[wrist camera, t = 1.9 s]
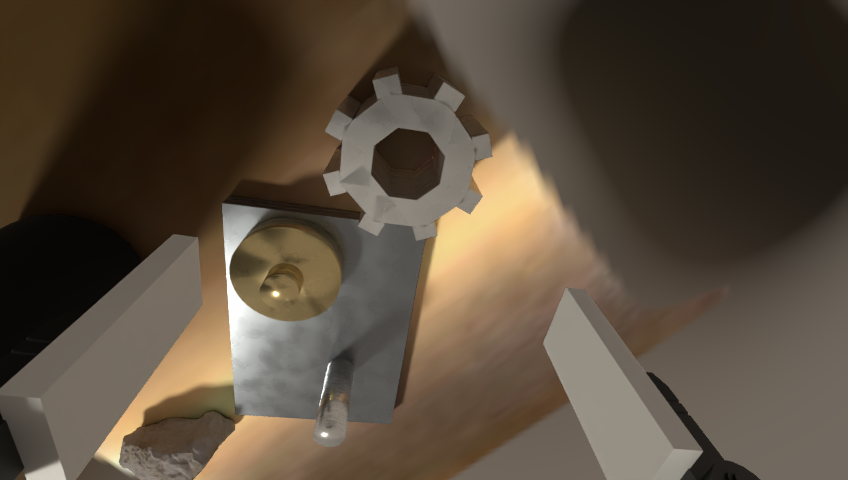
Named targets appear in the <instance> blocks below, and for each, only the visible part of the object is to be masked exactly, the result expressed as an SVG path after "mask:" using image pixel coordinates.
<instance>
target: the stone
mask: <svg viewBox="0 0 848 480" xmlns="http://www.w3.org/2000/svg"><path fill="white" fill-rule="evenodd" d="M234 430H235V424H234V422H233V421H232V420H231V419H226V418H224V417H223V416H221V414H219V413H217V412H215V411H210V412H206V413H205V414H204V415H203V416H202V417H201V418H199V419H186V418H168V419H164V420H163V421H161V422H160V423H158V424H152V425H149V426H146V427H143V426H142V427H139V428H137V429H136V430H135V431H134V432H133V433H131V434H128V435H125V436H124V438H123V443H122V447H121V453H120V460H119V463H120V465H121V466H122V468H128V469H129V470H131V471H132V472H133V473H134V474H135V476H137V477H138V478H141V479H143V480H193V479H194V478H195V477H196V476H197V475H198V474H199V473H200V472H201V471H202V469H203V468H204V467H205V466H206V464H207V463H208V462H209V460H210V459H211V458H212V456H213V454H214V453H215V451H216V450H217V449H218V446H219V445H220V444H221V443H222V442H223V441H225V439H226V438H227V437H228V436H229V435H230V434H231V433H232V432H233V431H234Z"/></svg>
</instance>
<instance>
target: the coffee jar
mask: <svg viewBox="0 0 848 480" xmlns="http://www.w3.org/2000/svg"><path fill="white" fill-rule="evenodd" d="M140 263H142V260H141V258H140V257H139V256H138V255H137V253H136V252H135V251H134V249H133V248H132V247H131V246H130V244H129V243H127V242H126V241H125V240H123V239H122V238H121V237H120V236H118V235H117V234H116V233H114V232H113V231H112V230H110V229H107V228H105V227H103V226H101V225H99V224H97V223H95V222H92V221H89V220H84V219H80V218H75V217H71V216H64V215H41V216H29V217H27V218H24V219H22V220H19V221H16V222H14V223H11V224H9V225H7V226H5V227H3V228H1V229H0V359H1V358H2V357H4V356H5V355H6V354H10V353H11V350H12V349H13V348H15V347H16V346H17V345H18V344H20V343H21V342H22V341H26V338H27V337H28V336H29V335H31V334H32V333H33V332H34V331H35V330H37V329H38V328H39V327H40V326H42V325H43V324H44V323H46V322H48V321H50V320H52V319H54V318H56V317H58V316H60V315H62V314H64V313H66V312H68V311H71V312H81V313H85V312H87V311H88V310H89V309H90V308H91V307H92V306H93V305H94V304H96V303H97V302H98V301H99V300H100V299H101V298H102V297H103V296H105V295H106V294H107V293H108V292H109V291H110V290H111V289H112V288H114V287H115V286H116V285H117V284H118V283H119V282H120V281H121V280H123V279H124V278H125V277H126V276H127V275H128V274H129V273H130V272H132V271H133V270H134V269H135V268H136V267H137V266H138V265H139V264H140Z"/></svg>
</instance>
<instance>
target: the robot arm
mask: <svg viewBox="0 0 848 480" xmlns="http://www.w3.org/2000/svg"><path fill="white" fill-rule="evenodd" d="M201 306H202V289H201V274H200V259H199V243H198V237H191V236H184V235H177V234H173V235H172V236H171V237H170V238H169V239H167V240H166V241H165V242H164V243H163V244H162V245H161V246H160V247H158V248H157V249H156V250H155V251H154V252H153V253H152V254H151V255H149V256H148V257H147V258H146V259H145V260H144V261H143V262H142V263H140V264H139V265H138V266H137V267H136V268H135V269H134V270H133V271H132V272H130V273H129V274H128V275H127V276H126V277H125V278H124V279H123V280H121V281H120V282H119V283H118V284H117V285H116V286H115V287H114V288H112V289H111V290H110V291H109V292H108V293H107V294H106V295H105V296H103V297H102V298H101V299H100V300H99V301H98V302H97V303H96V304H94V305H93V306H92V307H91V308H90V309H89V310H88V311H87V312H85V313H81V312H71V311H68V312H66V313H64V314H62V315H60V316H58V317H56V318H54V319H52V320H50V321H48V322H46V323H44V324H43V325H42V326H40V327H39V328H38V329H37V330H35V331H34V332H33V333H32V334H31V335H29V336H28V337H27V338H26V341H22V342H21V343H20V344H18V345H17V346H16V347H15V348H13V349H12V350H11V353H10V354H6V355H5V356H4V357H2V358H1V359H0V480H14V479H15V478H16V477H17V476H18V475H19V474H20V472H21V471H22V470H23V471H24V473H25V476H26V479H27V480H76V479H77V477H78V476H79V475H80V473H81V472H82V470H83V469H84V467H85V466H86V465H87V464H88V462H89V461H90V459H91V458H92V457H93V455H94V454H95V452H96V451H97V450H98V448H99V447H100V446H101V444H102V443H103V441H104V440H105V439H106V437H107V436H108V435H109V433H110V432H111V430H112V429H113V428H114V426H115V425H116V423H117V422H118V421H119V419H120V418H121V417H122V415H123V414H124V412H125V411H126V410H127V408H128V407H129V405H130V404H131V403H132V401H133V400H134V399H135V397H136V396H137V394H138V393H139V392H140V390H141V389H142V387H143V386H144V385H145V383H146V382H147V381H148V379H149V378H150V376H151V375H152V374H153V372H154V371H155V370H156V368H157V367H158V365H159V364H160V363H161V361H162V360H163V358H164V357H165V356H166V354H167V353H168V352H169V350H170V349H171V347H172V346H173V345H174V343H175V342H176V340H177V339H178V338H179V336H180V335H181V334H182V332H183V331H184V329H185V328H186V327H187V325H188V324H189V322H190V321H191V320H192V318H193V317H194V316H195V314H196V313H197V311H198V310H199V309H200V307H201ZM543 344H544V346H545V349H546V351H547V353H548V355H549V357H550V359H551V361H552V363H553V366H554V368H555V370H556V372H557V374H558V376H559V378H560V381H561V383H562V385H563V387H564V389H565V391H566V393H567V395H568V398H569V400H570V402H571V404H572V406H573V408H574V410H575V412H576V414H577V417H578V419H579V421H580V423H581V425H582V427H583V429H584V432H585V434H586V436H587V438H588V440H589V442H590V444H591V446H592V449H593V451H594V453H595V455H596V457H597V459H598V461H599V463H600V466H601V468H602V470H603V472H604V474H605V476H606V478H607V480H760V479H759V478H758V477H757V476H756V475H754V474H753V473H751V472H750V471H749V470H747V469H746V468H744V467H743V466H740V465H738V464H736V463H734V462H731V461H726V460H724V459H723V458H722V456H721V455H720V454H719V452H718V451H717V450H716V448H715V447H714V446H713V445H712V443H711V442H710V441H709V439H708V438H707V437H706V436H705V434H704V433H703V431H702V430H701V429H700V428H699V426H698V425H697V424H696V422H695V421H694V420H693V419H692V418H691V416H689V415H688V412H687V411H686V409H685V408H684V407H683V405H682V404H680V403H679V401H678V399H677V398H676V396H675V395H674V394H673V392H672V391H671V390H670V389H669V387H668V386H667V385H666V384H665V383H663V382H662V381H661V380H660V379H659V378H658V377H656V376H655V375H654V374H653V373H648V372H645V371H644V369H643V368H642V367H641V365H640V364H639V363H638V361H637V360H636V358H635V357H634V356H633V354H632V353H631V352H630V350H629V349H628V348H627V346H626V345H625V343H624V342H623V341H622V339H621V338H620V337H619V335H618V334H617V333H616V331H615V330H614V328H613V327H612V326H611V324H610V323H609V322H608V320H607V319H606V318H605V316H604V315H603V313H602V312H601V311H600V309H599V308H598V307H597V305H596V304H595V303H594V301H593V300H592V299H591V297H590V296H589V294H588V293H587V292H586V290H582V289H575V288H568V287H566V289H565V292H564V294H563V297H562V299H561V301H560V304H559V306H558V309H557V311H556V313H555V316H554V318H553V321H552V323H551V325H550V328H549V330H548V333H547V335H546V338H545V340H544V342H543Z"/></svg>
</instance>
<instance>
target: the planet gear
mask: <svg viewBox="0 0 848 480" xmlns="http://www.w3.org/2000/svg"><path fill="white" fill-rule="evenodd" d="M372 81H373V85H374V89H375V92H376V93H374V94H373V95H372V96H371V97H369V98H368V99H367V100H366V101H364V102H363V103H362V104H361V102H359V101H358V100H356V99H354V98H353V97H351V96H349V95H347V97H346V98H345V99H344V100H343V102H342V103H341V104H340V105H339V107H338V108H337V109H336V111H335V113H334V115H333V117H332V119H331V121H330V123H329V125H328V127H327V129H326V131H325V132H327V133H328V134H330V135H332V136H334V137H336V138H337V139H339V140H342V147H341V148H337V149H336V150H335V152H334V154H333V156H332V158H331V160H330V162H329V164H328V166H327V167H326V169H325V171H324V173H323V177H324V179H325V182H326V185H327V187H328V190H329V193H330V196H333V195H337V194H341V193H345V192H348V193H349V194H350V195H351V196H352V198H353V199H354V200H355V201H356V202H357V203H358V204H359V206H360V207H361V213H360V218H359V222H358V227H360V228H362V229H364V230H366V231H368V232H370V233H372V234H374V235H376V236H378V234H379V233H380V231H381V229H382V228H383V226H384V225H385V223H388V224H397V225H405V226H412V227H413V231H414V235H415V238H416V241H418V240H422V239H426V238H430V237H435V236H437V232H436V227H435V222H434V221H435V220H436V219H438V218H439V217H441V216H442V215H444V214H445V213H447V212H448V211H450V210H451V209H453V208H454V207H456V206H457V207H458V208H460V209H462V210H463V211H465V212H467V213H469V214H470V213H471V212H472V211H473V209H474V208H475V206H476V205H477V204H478V202H479V201H480V200H481V198H482V197H483V196H482V194H481V192H480V190H479V188H478V186H477V184H476V183H475V181H474V179H473V177H472V171H473V167H474V162H475V160H476V161H477V160H481V159H485V158H489V157H492V151H491V144H490V138H489V133H488V132H487V131H486V130H485V129H484V128H483V127H482V126H481V124H480V123H479V122H478V121H477V120H476V119H475V118H474V117H473V116H472V115H469V116H465V117H461V118H457V116H456V115H455V113H454V112H456V110H457V108H458V107H459V105H460V104H461V102H462V100H463V99H464V97H465V96H464V95H463V94H462V93H461V92H460V91H459V90H458V89H457V88H456V87H455V86H454V85H452V84H451V83H450V82H448V81H447V80H445V79H444V78H442V77H441V76H439V75H438V74H436V73H434V75H433V76H432V78H431V80H430V82H429V83H428V85H427V87H424V86H419V85H413V84H407V83H401V78H400V74H399V70H398V66H395V67H392V68H388V69H384V70H380V71H377V73H376V75H375V76H374V78H373V80H372ZM453 111H454V112H453ZM397 128H404V129H410V130H416V131H423V132H428V133H429V134H430V136H431V137H432V138H433V140H434V141H435V145H434V150H433V156H432V158H431V159H429V160H428V161H426V162H425V163H424V164H422V165H421V166H419V167H418V168H417V169H415V170H414V171H411V170H404V169H397V168H390V167H389V165H388V164H387V163H386V162H385V160H384V159H383V158H382V156H381V155H380V154H379V153H378V151H377V150H376V144H377V143H378V142H380V141H381V140H382V139H384V138H385V137H386V136H388V135H389V134H390V133H392V132H393V131H394V130H396V129H397Z"/></svg>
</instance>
